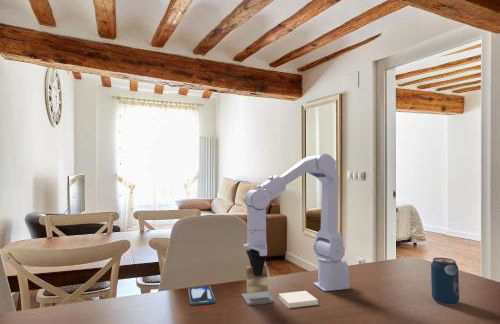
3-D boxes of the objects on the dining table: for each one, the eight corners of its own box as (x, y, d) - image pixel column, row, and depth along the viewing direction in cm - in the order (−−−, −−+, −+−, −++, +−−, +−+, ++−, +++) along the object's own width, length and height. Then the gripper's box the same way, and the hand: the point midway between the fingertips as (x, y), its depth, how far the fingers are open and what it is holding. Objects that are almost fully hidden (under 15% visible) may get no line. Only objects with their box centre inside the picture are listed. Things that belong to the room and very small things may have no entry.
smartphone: (210, 285, 113) (215, 300, 98) (210, 288, 112) (215, 304, 98) (187, 287, 111) (190, 302, 96) (187, 290, 111) (190, 306, 96)
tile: (305, 290, 104) (317, 299, 96) (305, 296, 104) (317, 305, 96) (278, 293, 101) (288, 303, 94) (278, 299, 101) (288, 309, 94)
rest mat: (266, 293, 106) (266, 291, 106) (274, 302, 98) (274, 300, 98) (241, 295, 104) (241, 293, 104) (247, 305, 96) (247, 303, 96)
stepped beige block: (266, 289, 102) (265, 264, 103) (267, 291, 101) (266, 265, 101) (247, 291, 101) (246, 266, 101) (248, 293, 99) (247, 268, 99)
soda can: (462, 307, 93) (461, 263, 93) (434, 304, 95) (433, 262, 96) (455, 298, 99) (454, 258, 100) (429, 296, 102) (428, 256, 102)
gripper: (238, 226, 108) (238, 269, 107) (249, 234, 93) (250, 283, 93) (259, 225, 109) (260, 267, 109) (273, 232, 95) (274, 281, 95)
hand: (257, 274), depth 101 cm, fingers closed on stepped beige block, 2 cm apart
